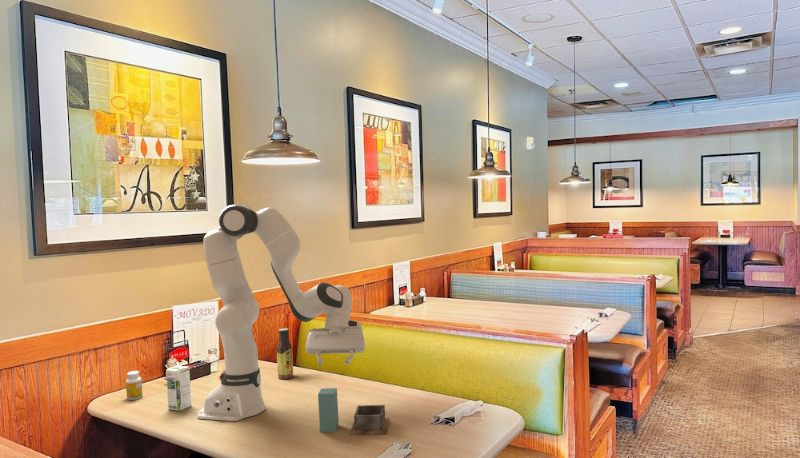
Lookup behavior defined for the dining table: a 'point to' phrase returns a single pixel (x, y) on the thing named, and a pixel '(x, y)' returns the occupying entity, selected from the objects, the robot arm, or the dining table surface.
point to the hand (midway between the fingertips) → (333, 363)
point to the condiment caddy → (370, 420)
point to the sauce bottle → (284, 355)
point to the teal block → (328, 409)
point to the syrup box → (178, 388)
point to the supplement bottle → (134, 385)
